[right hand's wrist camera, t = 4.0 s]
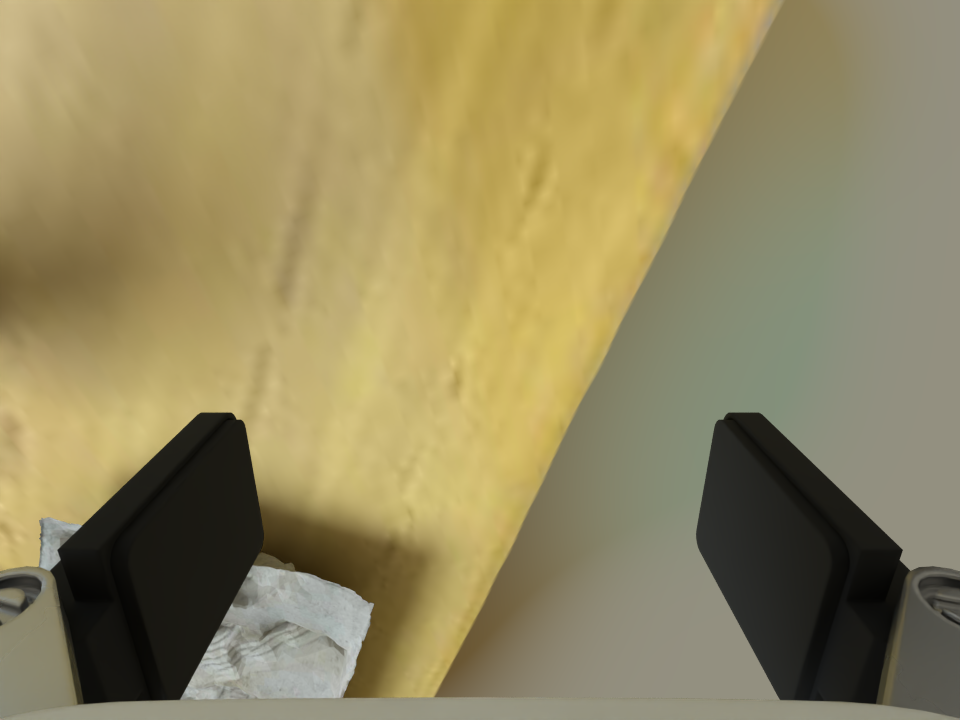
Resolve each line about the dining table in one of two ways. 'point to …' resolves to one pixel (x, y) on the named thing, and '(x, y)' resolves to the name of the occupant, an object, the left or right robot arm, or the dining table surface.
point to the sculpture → (269, 632)
